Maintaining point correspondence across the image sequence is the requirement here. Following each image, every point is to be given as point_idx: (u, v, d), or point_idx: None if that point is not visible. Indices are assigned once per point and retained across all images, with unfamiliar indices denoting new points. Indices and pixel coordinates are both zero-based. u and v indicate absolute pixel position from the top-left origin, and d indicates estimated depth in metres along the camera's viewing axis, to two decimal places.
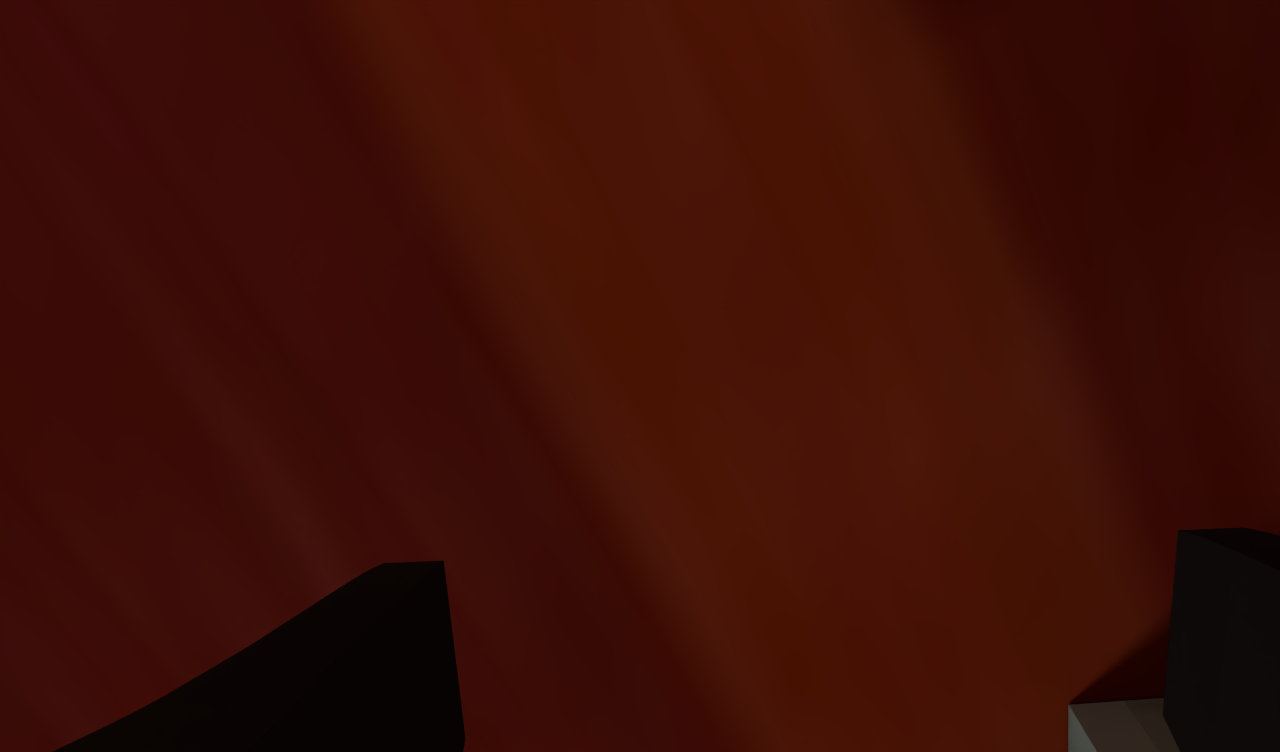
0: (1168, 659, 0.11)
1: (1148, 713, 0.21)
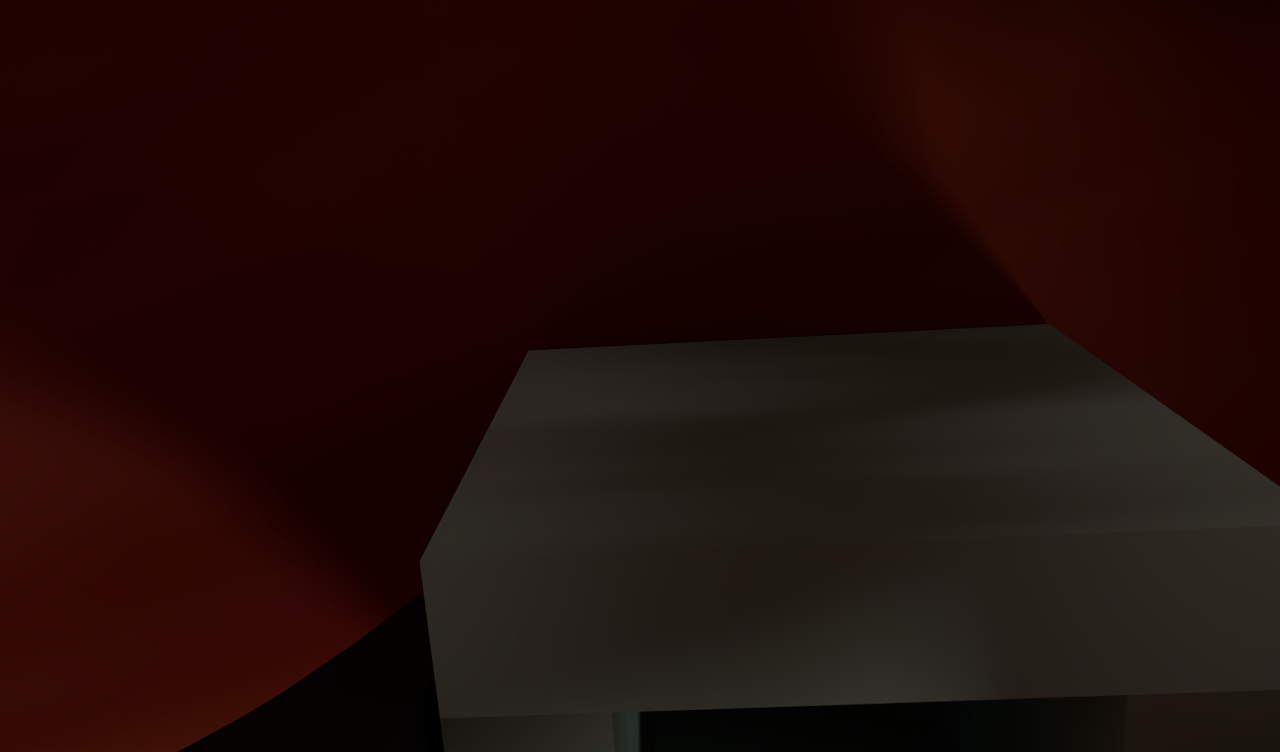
0: None
1: None
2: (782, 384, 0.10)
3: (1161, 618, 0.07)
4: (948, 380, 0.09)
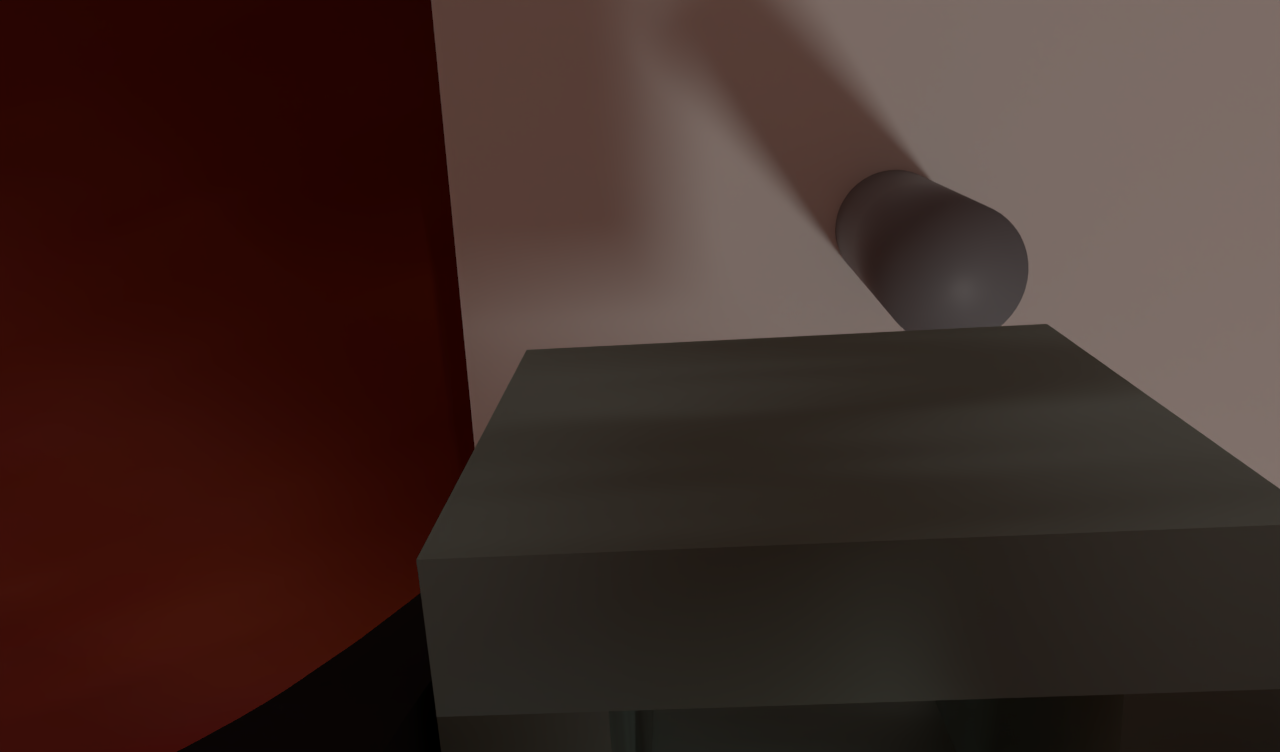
0: None
1: None
2: (779, 384, 0.10)
3: (1157, 617, 0.07)
4: (944, 380, 0.09)
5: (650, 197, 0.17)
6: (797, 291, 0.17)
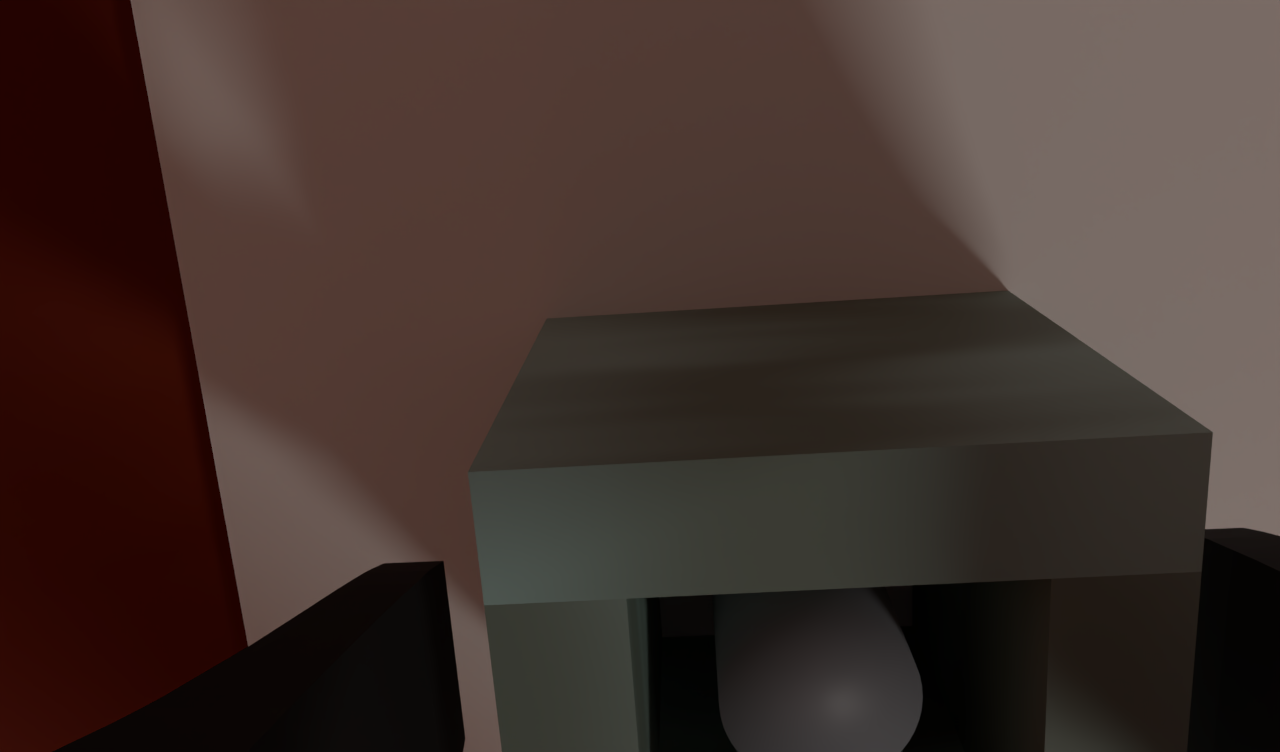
0: None
1: None
2: (770, 341, 0.11)
3: (1076, 513, 0.08)
4: (913, 335, 0.11)
5: None
6: None
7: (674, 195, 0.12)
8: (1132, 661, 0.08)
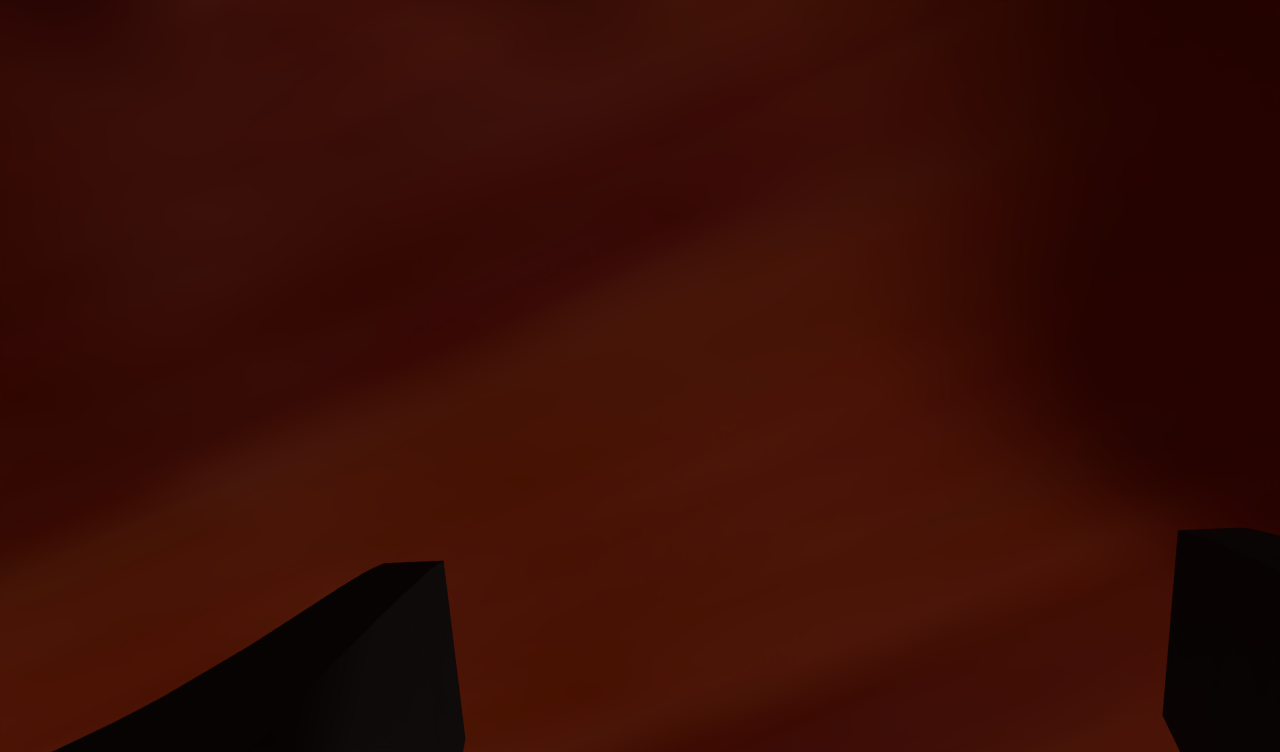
0: (1168, 659, 0.11)
1: None
2: None
3: None
4: None
5: None
6: None
7: None
8: None
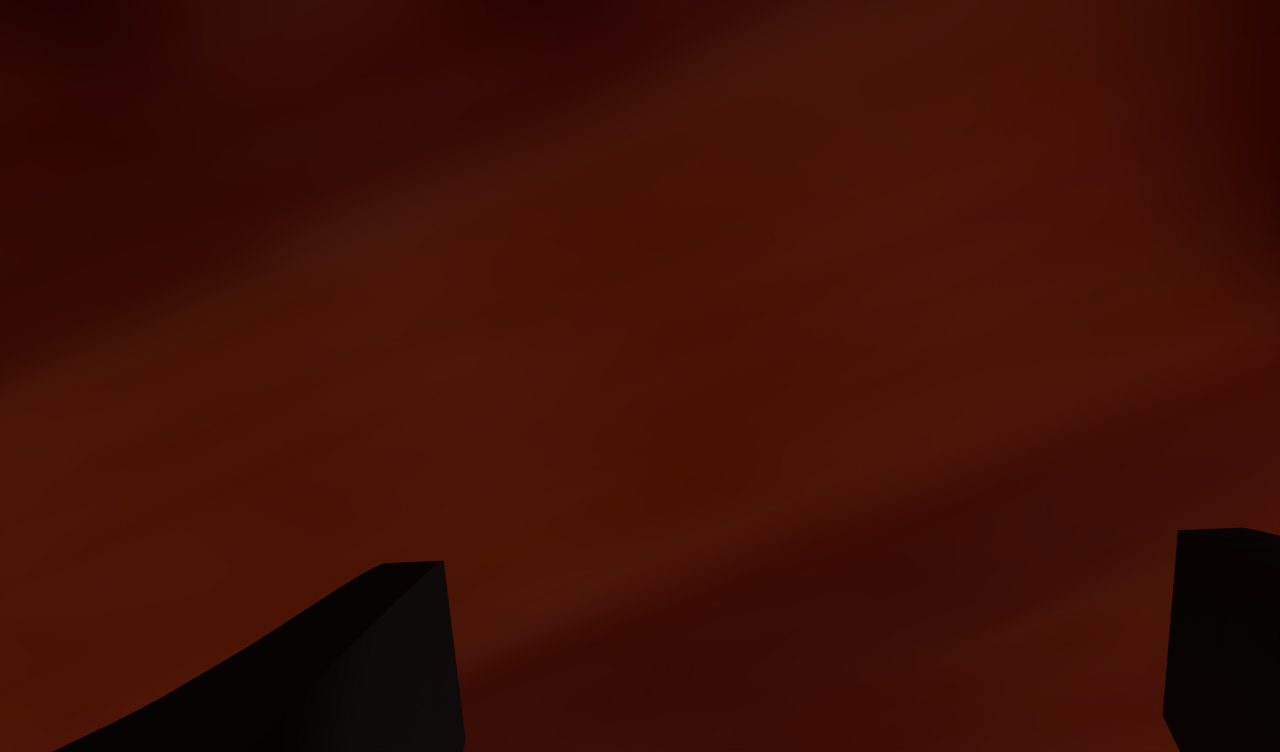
0: (1168, 658, 0.11)
1: None
2: None
3: None
4: None
5: None
6: None
7: None
8: None
